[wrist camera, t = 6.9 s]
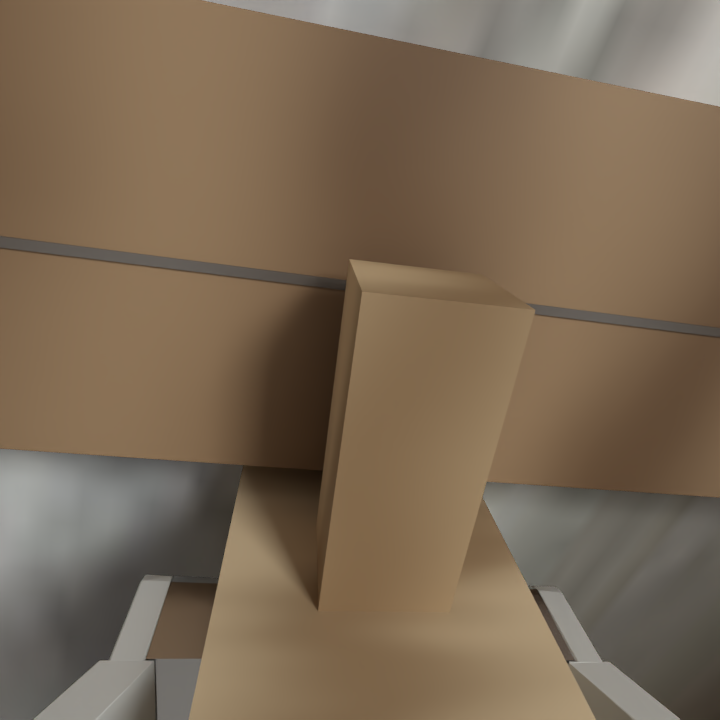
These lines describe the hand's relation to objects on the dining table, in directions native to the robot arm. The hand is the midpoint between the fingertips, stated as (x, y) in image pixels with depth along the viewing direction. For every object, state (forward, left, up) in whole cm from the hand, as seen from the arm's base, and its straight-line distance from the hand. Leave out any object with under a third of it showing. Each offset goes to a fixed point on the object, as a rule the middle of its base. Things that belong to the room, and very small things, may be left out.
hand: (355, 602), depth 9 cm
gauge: (0, -2, -3) cm, 3 cm away
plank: (0, -6, -3) cm, 7 cm away
